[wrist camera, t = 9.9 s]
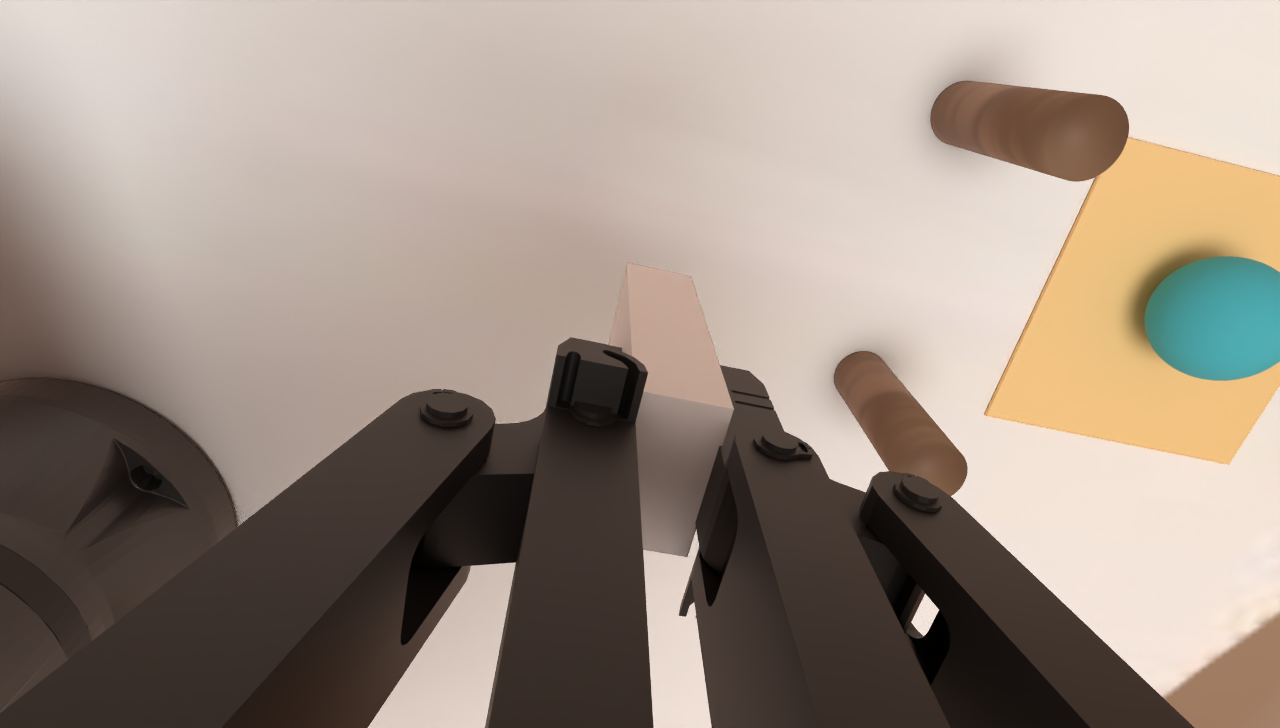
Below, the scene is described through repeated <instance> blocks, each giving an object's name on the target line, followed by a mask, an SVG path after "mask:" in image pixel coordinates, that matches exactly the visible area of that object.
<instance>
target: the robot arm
mask: <svg viewBox="0 0 1280 728" xmlns="http://www.w3.org/2000/svg"><path fill="white" fill-rule="evenodd" d="M495 419H496V418H495V416H494V413H493V411H492V409H491V408H490V407H489V406H487V405H486V404H485V403H484V402H483V401H481V400H479V399H476V398H474V397H472V396H469V395H467V394H463V393H458V392H456V391H453V390H446V389H444V390H441V389H432V390H428V391H422V392H416V393H412V394H410V395H408V396H406V397H404V398H402V399H400V400H399V401H398V402H397V403H395V404H394V405H393V406H391V407H390V408H389V409H388V410H386V411H385V412H384V413H383V414H381V415H380V416H379V417H377V418H376V419H375V420H374V421H372V422H371V423H370V424H368V425H367V426H366V427H365V428H363V429H362V430H361V431H360V432H358V433H357V434H356V435H354V436H353V437H352V438H351V439H349V440H348V441H347V442H346V443H344V444H343V445H342V446H340V447H339V448H338V449H337V450H335V451H334V452H333V453H331V454H330V455H329V456H328V457H326V458H325V459H324V460H323V461H321V462H320V463H319V464H317V465H316V466H315V467H314V468H312V469H311V470H310V471H308V472H307V473H306V474H305V475H303V476H302V477H301V478H300V479H298V480H297V481H296V482H294V483H293V484H292V485H291V486H289V487H288V488H287V489H286V490H284V491H283V492H282V493H280V494H279V495H278V496H277V497H275V498H274V499H273V500H271V501H270V502H269V503H268V504H266V505H265V506H264V507H263V508H261V509H260V510H259V511H257V512H256V513H255V514H254V515H252V516H251V517H250V518H248V519H247V520H246V521H245V522H243V523H242V524H241V525H240V526H238V527H237V528H236V524H235V517H234V512H233V508H232V505H231V502H230V499H229V496H228V494H227V491H226V489H225V487H224V485H223V483H222V481H221V479H220V478H219V476H218V474H217V473H216V471H215V470H214V468H213V467H212V465H211V464H210V463H209V461H208V460H207V459H206V458H205V456H204V455H203V454H202V453H201V452H200V451H199V450H198V448H197V447H196V446H195V445H194V444H193V443H192V442H191V441H190V440H189V439H188V438H187V437H185V436H184V435H183V434H182V433H181V432H180V431H179V430H177V429H176V428H175V427H173V426H172V425H171V424H170V423H168V422H167V421H165V420H164V419H163V418H161V417H160V416H158V415H157V414H155V413H153V412H152V411H150V410H148V409H147V408H145V407H143V406H141V405H139V404H137V403H135V402H133V401H131V400H129V399H127V398H125V397H123V396H120V395H118V394H115V393H112V392H110V391H107V390H104V389H101V388H98V387H94V386H91V385H87V384H83V383H78V382H73V381H67V380H60V379H49V378H25V379H15V380H8V381H3V382H0V728H368V726H369V725H370V723H371V722H372V720H373V719H374V717H375V716H376V714H377V713H378V711H379V710H380V708H381V707H382V705H383V704H384V702H385V701H386V699H387V698H388V696H389V695H390V693H391V692H392V691H393V689H394V688H395V686H396V685H397V683H398V682H399V680H400V679H401V677H402V676H403V674H404V673H405V671H406V670H407V668H408V667H409V665H410V664H411V662H412V661H413V659H414V658H415V656H416V655H417V653H418V652H419V650H420V649H421V647H422V646H423V644H424V643H425V641H426V640H427V638H428V637H429V635H430V634H431V633H432V631H433V630H434V628H435V627H436V625H437V624H438V622H439V621H440V619H441V618H442V616H443V615H444V613H445V612H446V610H447V609H448V607H449V606H450V604H451V603H452V601H453V600H454V598H455V597H456V595H457V594H458V592H459V591H460V589H461V588H462V586H463V585H464V583H465V582H466V580H467V577H468V574H469V571H470V567H471V566H472V565H486V564H499V563H512V562H516V565H515V571H514V576H513V581H512V587H511V592H510V597H509V603H508V608H507V613H506V619H505V624H504V629H503V635H502V640H501V645H500V651H499V656H498V661H497V667H496V672H495V677H494V683H493V688H492V693H491V699H490V704H489V709H488V715H487V720H486V725H485V728H653V715H652V697H651V680H650V663H649V646H648V628H647V611H646V594H645V577H644V560H643V550H649V551H655V552H661V553H667V554H673V555H679V556H685V557H687V556H688V553H689V550H690V547H691V544H692V540H693V537H694V534H695V531H696V529H697V535H698V541H699V550H698V553H697V556H696V559H695V562H694V565H693V568H692V571H691V575H690V578H689V581H688V584H687V587H686V590H685V593H684V596H683V599H682V603H681V606H680V612H679V616H685V617H686V615H687V612H688V608H689V606H690V605H691V604H692V603H693V602H695V609H696V618H697V623H698V631H699V638H700V645H701V652H702V660H703V667H704V674H705V682H706V689H707V696H708V703H709V711H710V718H711V725H712V728H1194V727H1193V726H1192V725H1191V724H1190V723H1189V722H1188V721H1187V720H1186V719H1185V718H1184V717H1183V716H1181V715H1180V714H1179V713H1178V712H1177V711H1176V710H1175V709H1174V708H1173V707H1172V706H1171V705H1170V704H1169V703H1168V702H1167V701H1166V700H1165V699H1164V698H1163V697H1161V696H1160V695H1159V694H1158V693H1157V692H1156V691H1155V690H1154V689H1153V688H1152V687H1151V686H1150V685H1149V684H1148V683H1147V682H1146V681H1145V680H1144V679H1143V678H1141V677H1140V676H1139V675H1138V674H1137V673H1136V672H1135V671H1134V670H1133V669H1132V668H1131V667H1130V666H1129V665H1128V664H1127V663H1126V662H1125V661H1124V660H1123V659H1121V658H1120V657H1119V656H1118V655H1117V654H1116V653H1115V652H1114V651H1113V650H1112V649H1111V648H1110V647H1109V646H1108V645H1107V644H1106V643H1105V642H1104V641H1103V640H1101V639H1100V638H1099V637H1098V636H1097V635H1096V634H1095V633H1094V632H1093V631H1092V630H1091V629H1090V628H1089V627H1088V626H1087V625H1086V624H1085V623H1084V622H1083V621H1081V620H1080V619H1079V618H1078V617H1077V616H1076V615H1075V614H1074V613H1073V612H1072V611H1071V610H1070V609H1069V608H1068V607H1067V606H1066V605H1065V604H1064V603H1062V602H1061V601H1060V600H1059V599H1058V598H1057V597H1056V596H1055V595H1054V594H1053V593H1052V592H1051V591H1050V590H1049V589H1048V588H1047V587H1046V586H1045V585H1044V584H1042V583H1041V582H1040V581H1039V580H1038V579H1037V578H1036V577H1035V576H1034V575H1033V574H1032V573H1031V572H1030V571H1029V570H1028V569H1027V568H1026V567H1025V566H1024V565H1022V564H1021V563H1020V562H1019V561H1018V560H1017V559H1016V558H1015V557H1014V556H1013V555H1012V554H1011V553H1010V552H1009V551H1008V550H1007V549H1006V548H1005V547H1004V546H1002V545H1001V544H1000V543H999V542H998V541H997V540H996V539H995V538H994V537H993V536H992V535H991V534H990V533H989V532H988V531H987V530H986V529H985V528H983V527H982V526H981V525H980V524H979V523H978V522H977V521H976V520H975V519H974V518H973V517H972V516H971V515H970V514H969V513H968V512H967V511H966V510H965V509H963V508H962V507H961V506H960V505H959V504H958V503H957V502H956V501H955V500H954V499H953V498H952V497H950V496H949V495H948V494H946V493H945V492H944V491H943V490H941V489H940V488H938V487H936V486H934V485H933V484H931V483H929V481H928V480H926V479H924V478H922V477H919V476H917V477H915V475H913V474H910V473H899V472H893V471H888V472H879V473H878V474H876V475H875V476H874V477H872V480H871V482H870V485H869V487H868V489H867V492H866V493H865V492H863V491H860V490H857V489H854V488H852V487H849V486H846V485H843V484H840V483H838V482H835V481H833V480H831V479H829V477H828V475H827V473H826V471H825V469H824V467H823V465H822V462H821V460H820V458H819V456H818V455H817V454H816V452H815V451H814V450H813V449H812V447H810V446H809V445H808V444H807V443H805V442H803V441H802V440H801V439H799V438H797V437H795V436H793V435H791V434H788V433H786V432H784V430H783V428H782V425H781V423H780V421H779V418H778V416H777V414H776V412H775V411H774V407H773V405H772V402H771V400H769V395H768V393H767V391H766V388H765V386H764V384H763V383H762V382H760V381H759V380H758V379H757V378H756V377H755V376H754V375H753V374H751V373H750V372H749V371H746V370H741V369H736V368H731V367H726V366H721V365H720V364H719V361H718V358H717V355H716V352H715V349H714V346H713V343H712V340H711V337H710V333H709V330H708V327H707V324H706V321H705V318H704V315H703V312H702V309H701V306H700V303H699V299H698V296H697V293H696V290H695V287H694V284H693V281H692V278H691V276H687V275H682V274H677V273H673V272H668V271H663V270H659V269H654V268H649V267H645V266H640V265H635V264H631V263H627V266H626V270H625V274H624V279H623V283H622V287H621V292H620V296H619V301H618V305H617V309H616V314H615V318H614V322H613V327H612V331H611V335H610V340H609V344H608V345H606V344H601V343H596V342H591V341H586V340H581V339H576V338H569V339H568V340H566V341H565V342H563V343H562V344H560V345H559V346H558V349H557V354H556V359H555V364H554V369H553V374H552V379H551V384H550V389H549V394H548V400H547V405H546V409H545V411H544V412H543V413H542V414H541V415H539V416H538V417H536V418H534V419H532V420H529V421H525V422H520V423H510V424H495ZM925 593H926V595H927V596H928V597H929V598H930V599H931V601H932V602H933V603H934V604H935V605H936V606H937V608H938V609H939V612H938V614H937V615H936V617H935V619H934V621H933V623H932V625H931V627H930V629H929V631H928V633H927V634H926V635H925V636H923V635H922V634H920V633H919V632H918V631H917V630H916V628H915V627H914V626H913V624H912V623H911V621H912V619H913V617H914V615H915V613H916V611H917V609H918V607H919V605H920V603H921V601H922V599H923V597H924V595H925Z"/></svg>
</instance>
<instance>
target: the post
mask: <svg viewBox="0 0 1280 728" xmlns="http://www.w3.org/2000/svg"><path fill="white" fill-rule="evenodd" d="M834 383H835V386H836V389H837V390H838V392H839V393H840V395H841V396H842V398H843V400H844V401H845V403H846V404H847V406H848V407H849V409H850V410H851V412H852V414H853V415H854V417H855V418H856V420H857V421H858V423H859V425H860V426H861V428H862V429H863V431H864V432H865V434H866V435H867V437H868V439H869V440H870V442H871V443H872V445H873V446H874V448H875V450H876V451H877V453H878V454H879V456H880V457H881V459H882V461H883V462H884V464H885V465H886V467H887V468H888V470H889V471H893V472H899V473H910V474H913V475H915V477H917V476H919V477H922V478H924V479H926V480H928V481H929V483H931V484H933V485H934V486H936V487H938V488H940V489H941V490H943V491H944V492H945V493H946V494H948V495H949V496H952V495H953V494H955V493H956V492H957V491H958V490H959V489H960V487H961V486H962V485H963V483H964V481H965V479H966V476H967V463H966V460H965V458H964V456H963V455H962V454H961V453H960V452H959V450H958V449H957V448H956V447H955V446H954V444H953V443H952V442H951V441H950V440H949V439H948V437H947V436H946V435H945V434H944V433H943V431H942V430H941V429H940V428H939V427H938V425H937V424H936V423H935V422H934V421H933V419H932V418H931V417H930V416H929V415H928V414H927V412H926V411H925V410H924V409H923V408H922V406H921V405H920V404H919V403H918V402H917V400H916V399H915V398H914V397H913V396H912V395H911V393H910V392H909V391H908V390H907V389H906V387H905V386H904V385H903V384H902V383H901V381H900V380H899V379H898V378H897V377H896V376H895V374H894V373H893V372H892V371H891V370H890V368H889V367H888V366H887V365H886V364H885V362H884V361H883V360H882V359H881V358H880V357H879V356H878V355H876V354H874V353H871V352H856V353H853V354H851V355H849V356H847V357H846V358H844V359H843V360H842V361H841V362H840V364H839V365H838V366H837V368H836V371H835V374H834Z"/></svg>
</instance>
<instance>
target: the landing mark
mask: <svg viewBox="0 0 1280 728" xmlns="http://www.w3.org/2000/svg"><path fill="white" fill-rule="evenodd" d="M1223 256H1233V257H1243V258H1248V259H1252V260H1255V261H1259V262H1262V263H1264V264H1266V265H1268V266H1271V267H1272V268H1274V269H1276V270H1277V271H1279V272H1280V176H1276V175H1272V174H1268V173H1264V172H1261V171H1257V170H1253V169H1249V168H1245V167H1241V166H1237V165H1233V164H1229V163H1226V162H1222V161H1218V160H1214V159H1210V158H1206V157H1202V156H1198V155H1194V154H1190V153H1187V152H1183V151H1179V150H1175V149H1171V148H1167V147H1163V146H1159V145H1155V144H1151V143H1148V142H1144V141H1140V140H1136V139H1132V138H1127V142H1126V145H1125V147H1124V149H1123V151H1122V153H1121V155H1120V156H1119V158H1118V159H1117V160H1116V161H1115V163H1114V164H1113V165H1112V166H1111V167H1110V168H1108V169H1107V170H1106V171H1105V172H1103V173H1102V174H1100V175H1098V176H1096V179H1095V181H1094V183H1093V185H1092V187H1091V189H1090V191H1089V193H1088V196H1087V198H1086V200H1085V202H1084V204H1083V206H1082V208H1081V210H1080V213H1079V215H1078V217H1077V219H1076V221H1075V223H1074V225H1073V227H1072V229H1071V232H1070V234H1069V236H1068V238H1067V240H1066V242H1065V244H1064V246H1063V249H1062V251H1061V253H1060V255H1059V257H1058V259H1057V261H1056V263H1055V266H1054V268H1053V270H1052V272H1051V274H1050V276H1049V278H1048V280H1047V283H1046V285H1045V287H1044V289H1043V291H1042V293H1041V295H1040V297H1039V299H1038V302H1037V304H1036V306H1035V308H1034V310H1033V312H1032V314H1031V316H1030V319H1029V321H1028V323H1027V325H1026V327H1025V329H1024V331H1023V333H1022V336H1021V338H1020V340H1019V342H1018V344H1017V346H1016V348H1015V350H1014V353H1013V355H1012V357H1011V359H1010V361H1009V363H1008V365H1007V367H1006V369H1005V372H1004V374H1003V376H1002V378H1001V380H1000V382H999V384H998V386H997V389H996V391H995V393H994V395H993V397H992V399H991V401H990V403H989V406H988V408H987V410H986V412H985V415H986V416H989V417H994V418H999V419H1004V420H1009V421H1014V422H1019V423H1024V424H1029V425H1034V426H1039V427H1044V428H1049V429H1053V430H1058V431H1063V432H1068V433H1073V434H1078V435H1083V436H1088V437H1093V438H1098V439H1103V440H1108V441H1113V442H1118V443H1123V444H1128V445H1133V446H1138V447H1143V448H1148V449H1153V450H1158V451H1163V452H1168V453H1173V454H1178V455H1183V456H1188V457H1193V458H1198V459H1203V460H1208V461H1213V462H1218V463H1223V464H1228V465H1229V464H1230V462H1231V461H1232V459H1233V457H1234V456H1235V454H1236V453H1237V451H1238V450H1239V448H1240V447H1241V445H1242V443H1243V442H1244V440H1245V439H1246V437H1247V436H1248V434H1249V433H1250V431H1251V429H1252V428H1253V426H1254V425H1255V423H1256V422H1257V420H1258V419H1259V417H1260V415H1261V414H1262V412H1263V411H1264V409H1265V408H1266V406H1267V405H1268V403H1269V401H1270V400H1271V398H1272V397H1273V395H1274V394H1275V392H1276V391H1277V389H1278V387H1279V386H1280V362H1278V363H1277V364H1275V365H1274V366H1273V367H1271V368H1269V369H1267V370H1265V371H1263V372H1261V373H1259V374H1256V375H1253V376H1250V377H1247V378H1242V379H1237V380H1228V381H1214V380H1206V379H1200V378H1196V377H1192V376H1190V375H1187V374H1184V373H1182V372H1180V371H1178V370H1176V369H1174V368H1173V367H1171V366H1170V365H1168V364H1167V363H1166V362H1165V361H1163V360H1162V359H1161V358H1160V357H1159V356H1158V354H1157V353H1156V352H1155V351H1154V349H1153V348H1152V346H1151V344H1150V343H1149V340H1148V338H1147V335H1146V330H1145V312H1146V307H1147V304H1148V301H1149V299H1150V297H1151V295H1152V293H1153V292H1154V291H1155V289H1156V288H1157V287H1158V285H1159V284H1160V283H1161V282H1162V281H1163V280H1164V279H1165V278H1166V277H1168V276H1169V275H1170V274H1172V273H1173V272H1174V271H1176V270H1178V269H1179V268H1181V267H1183V266H1185V265H1187V264H1190V263H1192V262H1195V261H1198V260H1202V259H1206V258H1212V257H1223Z"/></svg>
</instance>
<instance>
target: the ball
mask: <svg viewBox="0 0 1280 728" xmlns="http://www.w3.org/2000/svg"><path fill="white" fill-rule="evenodd" d="M1145 330H1146V335H1147V338H1148V340H1149V343H1150V344H1151V346H1152V348H1153V349H1154V351H1155V352H1156V353H1157V354H1158V356H1159V357H1160V358H1161V359H1162V360H1163V361H1165V362H1166V363H1167V364H1168V365H1170V366H1171V367H1173V368H1174V369H1176V370H1178V371H1180V372H1182V373H1184V374H1187V375H1190V376H1192V377H1196V378H1200V379H1206V380H1214V381H1228V380H1237V379H1242V378H1247V377H1250V376H1253V375H1256V374H1259V373H1261V372H1263V371H1265V370H1267V369H1269V368H1271V367H1273V366H1274V365H1275V364H1277V363H1278V362H1280V272H1279V271H1277V270H1276V269H1274V268H1272V267H1271V266H1268V265H1266V264H1264V263H1262V262H1259V261H1255V260H1252V259H1248V258H1243V257H1233V256H1223V257H1212V258H1206V259H1202V260H1198V261H1195V262H1192V263H1190V264H1187V265H1185V266H1183V267H1181V268H1179V269H1178V270H1176V271H1174V272H1173V273H1172V274H1170V275H1169V276H1168V277H1166V278H1165V279H1164V280H1163V281H1162V282H1161V283H1160V284H1159V285H1158V287H1157V288H1156V289H1155V291H1154V292H1153V293H1152V295H1151V297H1150V299H1149V301H1148V304H1147V307H1146V312H1145Z"/></svg>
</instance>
